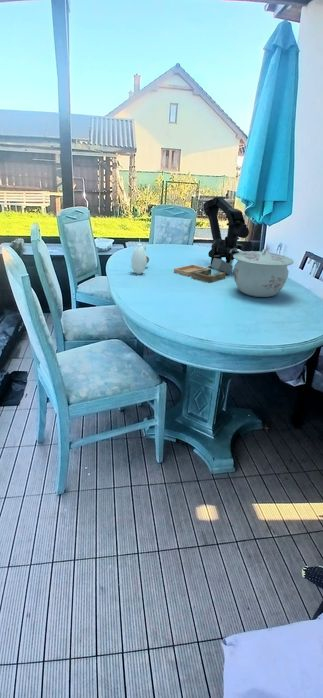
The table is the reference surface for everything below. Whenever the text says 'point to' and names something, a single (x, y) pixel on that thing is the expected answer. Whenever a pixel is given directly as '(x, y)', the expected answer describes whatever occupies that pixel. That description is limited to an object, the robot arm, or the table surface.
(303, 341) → the table surface
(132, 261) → the sauce bottle
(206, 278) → the dock
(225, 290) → the table surface
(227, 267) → the caddy
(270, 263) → the chamber pot
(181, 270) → the tray
